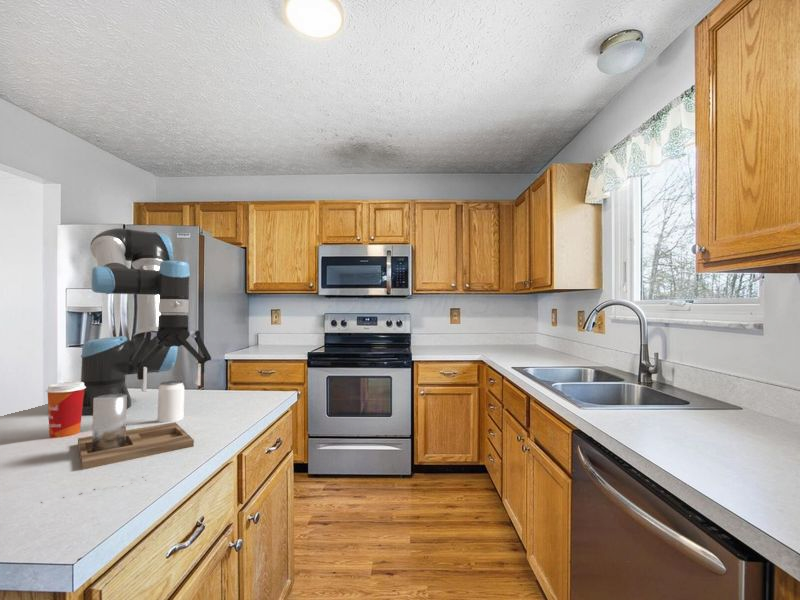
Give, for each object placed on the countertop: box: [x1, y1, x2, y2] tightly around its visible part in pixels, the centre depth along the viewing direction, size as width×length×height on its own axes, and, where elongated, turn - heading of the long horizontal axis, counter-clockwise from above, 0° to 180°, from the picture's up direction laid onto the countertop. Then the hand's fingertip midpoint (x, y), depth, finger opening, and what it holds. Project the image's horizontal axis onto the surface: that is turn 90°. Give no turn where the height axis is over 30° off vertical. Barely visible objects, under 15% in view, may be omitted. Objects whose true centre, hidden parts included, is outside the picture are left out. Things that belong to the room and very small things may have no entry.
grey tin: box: [91, 394, 128, 452], centre depth 86 cm, size 6×6×12 cm
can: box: [157, 380, 185, 423], centre depth 111 cm, size 6×6×12 cm
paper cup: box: [45, 381, 86, 439], centre depth 97 cm, size 8×8×14 cm
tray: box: [77, 421, 195, 470], centre depth 89 cm, size 18×20×3 cm
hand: (172, 388), depth 111 cm, fingers open, 13 cm apart
